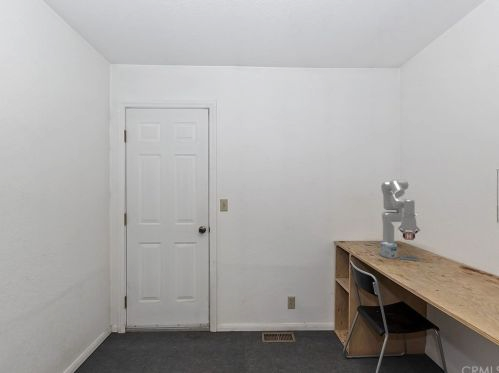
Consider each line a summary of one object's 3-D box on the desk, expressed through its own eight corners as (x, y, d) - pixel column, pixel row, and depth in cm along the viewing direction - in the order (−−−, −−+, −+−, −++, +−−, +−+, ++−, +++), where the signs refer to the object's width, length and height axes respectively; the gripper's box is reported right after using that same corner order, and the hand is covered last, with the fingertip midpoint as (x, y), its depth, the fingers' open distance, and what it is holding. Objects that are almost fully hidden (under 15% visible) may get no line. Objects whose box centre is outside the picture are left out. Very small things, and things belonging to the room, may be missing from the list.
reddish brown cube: (404, 238, 216) (404, 231, 216) (412, 239, 214) (412, 231, 214) (404, 239, 211) (404, 232, 211) (413, 240, 209) (413, 233, 209)
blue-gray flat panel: (399, 255, 221) (399, 255, 221) (416, 257, 215) (416, 256, 215) (400, 259, 210) (400, 258, 210) (418, 261, 205) (418, 260, 205)
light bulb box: (397, 258, 214) (397, 244, 214) (391, 259, 211) (391, 245, 211) (386, 254, 224) (386, 241, 223) (379, 255, 221) (379, 242, 221)
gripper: (421, 215, 212) (421, 238, 212) (396, 214, 220) (396, 237, 220) (422, 216, 205) (422, 240, 205) (396, 215, 213) (396, 238, 213)
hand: (408, 238), depth 212 cm, fingers closed on reddish brown cube, 5 cm apart
